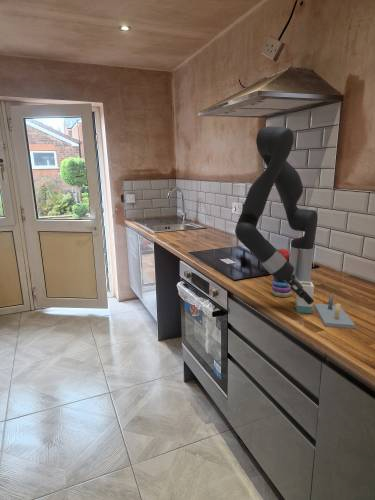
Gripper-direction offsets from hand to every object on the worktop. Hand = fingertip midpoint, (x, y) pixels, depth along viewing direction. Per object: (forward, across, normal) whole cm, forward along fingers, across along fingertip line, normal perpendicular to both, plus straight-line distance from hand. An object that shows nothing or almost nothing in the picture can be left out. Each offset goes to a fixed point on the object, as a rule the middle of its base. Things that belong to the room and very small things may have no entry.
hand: (309, 299), depth 115 cm
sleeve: (+2, 0, +4) cm, 5 cm away
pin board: (+8, -4, -2) cm, 9 cm away
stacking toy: (-2, +15, +9) cm, 17 cm away
